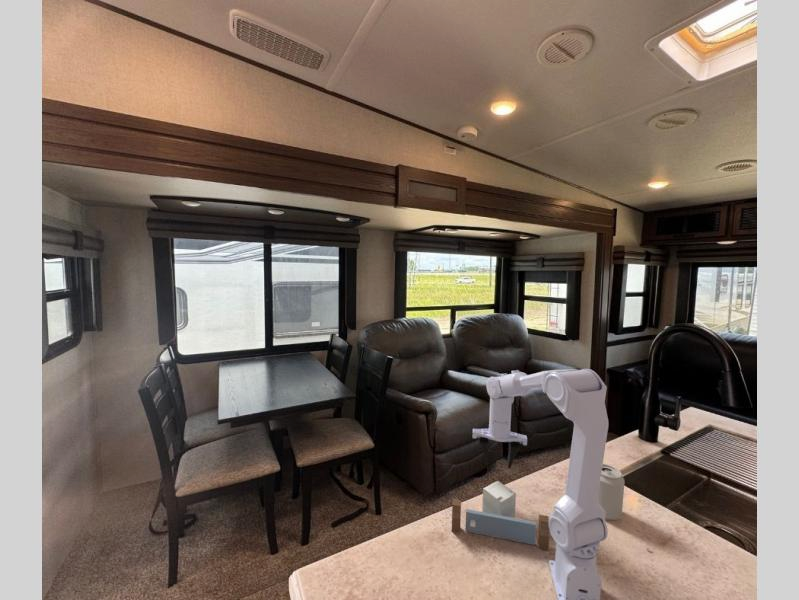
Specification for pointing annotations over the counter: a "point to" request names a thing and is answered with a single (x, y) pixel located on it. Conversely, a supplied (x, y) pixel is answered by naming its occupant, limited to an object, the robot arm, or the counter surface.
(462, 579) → the counter surface
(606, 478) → the can
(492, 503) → the skincare box
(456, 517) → the door frame
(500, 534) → the door leaf
